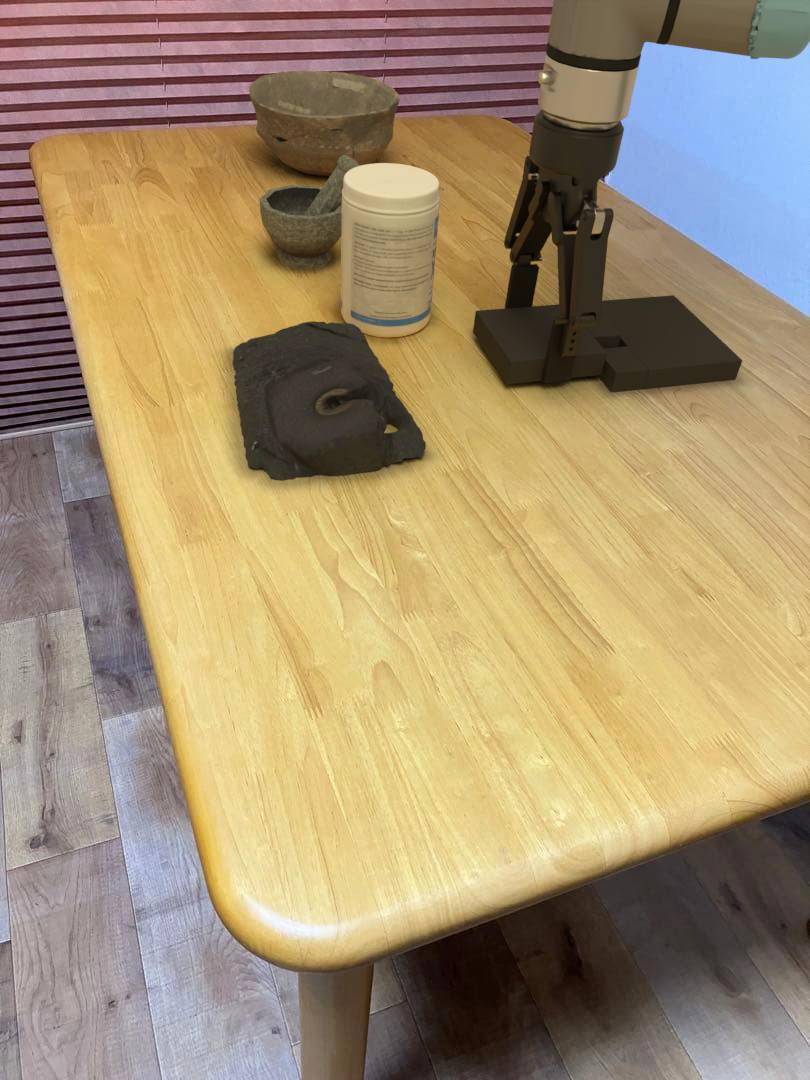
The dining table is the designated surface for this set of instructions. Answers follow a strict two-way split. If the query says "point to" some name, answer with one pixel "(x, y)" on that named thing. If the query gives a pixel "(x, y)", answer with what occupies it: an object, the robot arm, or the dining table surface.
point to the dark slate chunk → (319, 404)
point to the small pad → (537, 342)
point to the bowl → (323, 118)
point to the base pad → (662, 347)
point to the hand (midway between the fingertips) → (534, 351)
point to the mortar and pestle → (306, 219)
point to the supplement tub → (388, 248)
